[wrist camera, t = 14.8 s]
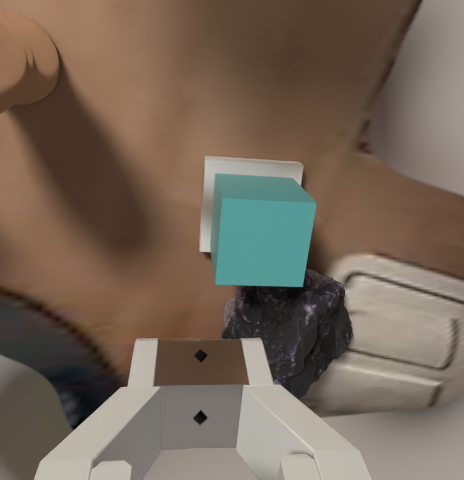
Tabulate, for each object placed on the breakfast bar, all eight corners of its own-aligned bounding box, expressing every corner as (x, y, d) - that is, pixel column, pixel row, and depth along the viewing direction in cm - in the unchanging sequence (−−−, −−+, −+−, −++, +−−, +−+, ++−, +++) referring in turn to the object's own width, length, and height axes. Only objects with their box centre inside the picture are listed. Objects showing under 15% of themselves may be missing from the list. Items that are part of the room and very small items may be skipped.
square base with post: (204, 155, 34) (210, 182, 27) (299, 161, 35) (331, 189, 28) (199, 244, 37) (203, 292, 30) (286, 248, 38) (312, 294, 31)
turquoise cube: (215, 173, 33) (222, 198, 26) (292, 177, 33) (316, 203, 27) (209, 246, 35) (215, 284, 29) (282, 249, 36) (302, 286, 30)
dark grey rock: (363, 266, 41) (408, 312, 32) (329, 383, 45) (360, 456, 35) (228, 244, 40) (233, 286, 30) (205, 366, 44) (203, 438, 34)
